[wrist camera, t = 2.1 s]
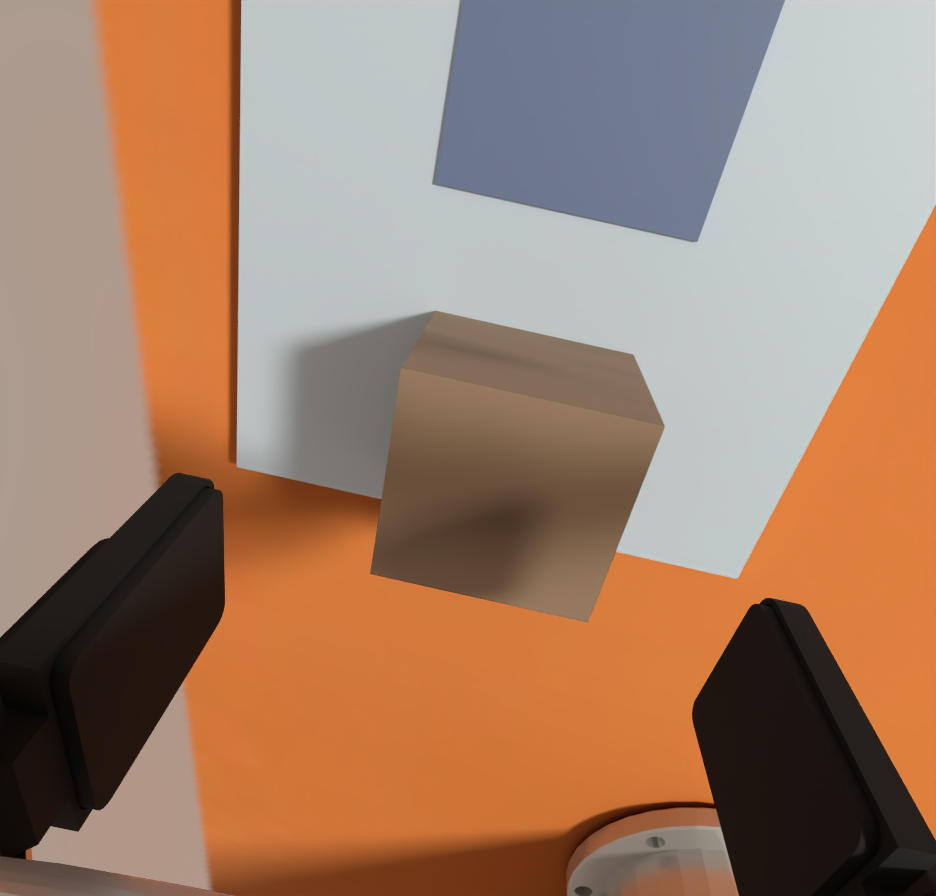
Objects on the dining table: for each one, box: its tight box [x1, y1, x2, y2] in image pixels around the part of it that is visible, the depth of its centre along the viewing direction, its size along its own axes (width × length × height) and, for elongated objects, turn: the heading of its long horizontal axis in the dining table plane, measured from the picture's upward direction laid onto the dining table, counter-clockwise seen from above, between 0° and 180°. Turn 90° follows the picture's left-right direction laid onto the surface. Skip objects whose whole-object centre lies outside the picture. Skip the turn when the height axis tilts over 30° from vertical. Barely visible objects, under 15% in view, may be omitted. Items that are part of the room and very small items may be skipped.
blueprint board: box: [237, 0, 936, 579], centre depth 15 cm, size 28×18×1 cm, turn 169°
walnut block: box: [370, 311, 665, 623], centre depth 17 cm, size 6×6×5 cm
